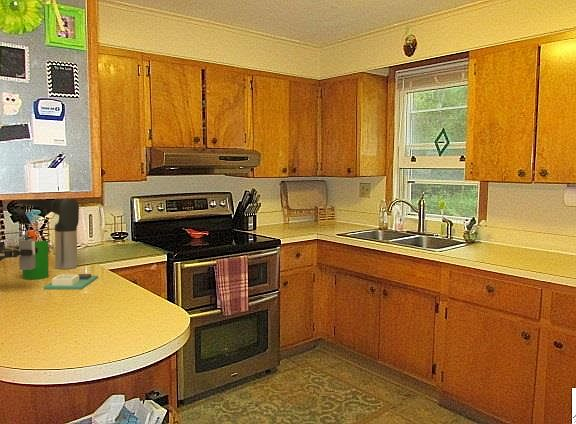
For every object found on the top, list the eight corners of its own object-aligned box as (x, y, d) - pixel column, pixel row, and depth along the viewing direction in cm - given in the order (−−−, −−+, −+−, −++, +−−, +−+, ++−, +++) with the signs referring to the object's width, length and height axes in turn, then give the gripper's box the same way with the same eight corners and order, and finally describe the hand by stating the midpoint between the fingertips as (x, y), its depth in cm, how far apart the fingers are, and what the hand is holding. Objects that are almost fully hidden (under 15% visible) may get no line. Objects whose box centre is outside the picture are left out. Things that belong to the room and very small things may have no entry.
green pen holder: (52, 275, 206) (52, 229, 205) (40, 280, 198) (39, 231, 196) (30, 274, 207) (29, 228, 206) (17, 279, 199) (15, 230, 197)
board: (63, 277, 203) (63, 269, 202) (98, 277, 204) (97, 269, 203) (43, 289, 183) (43, 280, 182) (81, 289, 184) (81, 280, 183)
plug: (24, 267, 184) (23, 231, 182) (37, 267, 184) (36, 231, 183) (19, 269, 180) (18, 232, 178) (32, 269, 180) (31, 232, 179)
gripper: (-24, 244, 173) (26, 244, 174) (-4, 238, 187) (42, 238, 188) (-23, 265, 173) (26, 265, 175) (-3, 257, 187) (43, 257, 189)
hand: (34, 251), depth 181 cm, fingers closed on plug, 4 cm apart
